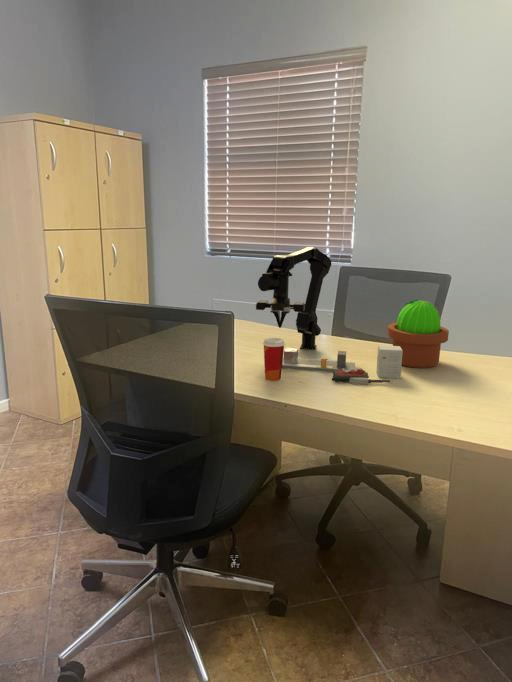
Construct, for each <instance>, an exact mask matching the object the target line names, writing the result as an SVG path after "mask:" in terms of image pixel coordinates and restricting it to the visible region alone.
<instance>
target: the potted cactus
mask: <svg viewBox="0 0 512 682" xmlns="http://www.w3.org/2000/svg"><path fill="white" fill-rule="evenodd" d="M439 313H440V312H439V310H437V307H435V305H434V304H432V303H431V302H429V301H428V300H426V301H425V300H424V299H420V300H419V299H415V300H410V301H409V302H407V303H405V304H404V306H403V307H402V309H401V310H400V312H399V313H398V315H397V320H396V321H395V322H394V323H390V324H388V326H387V336H388V337H389V338H390V339H392V346H400V347H401V349H402V350H403V353H402V365H401V366H404V367H408V368H413V369H414V368H415V369H417V368H418V369H421V368H422V369H423V368H424V369H425V368H432V367H435V366H437V365H439V364H440V363H439V362H440V354H441V346H442V344H444V343H446V342H448V340H449V334H450V333H449V332H450V331H449V329H448V328H446V327H443V326H441V321H442V318H440V317H441V316H440V314H439Z"/></svg>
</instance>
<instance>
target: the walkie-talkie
mask: <svg viewBox="0 0 512 682" xmlns="http://www.w3.org/2000/svg"><path fill="white" fill-rule="evenodd" d="M369 378H370V377H369V373H368V372H367V371H365V370H364V369H363V368H362V367H355V368H349V369H348V370H345V369H342V370H333V372H332V377H331V381H332V382H335V383H341V382H342V383H344V384H346V383H350V384H352V385H361V386H363V385H364V386H368V385H369V384H372V383H373V384H375V383H376V384H379V383H380V384H381V383H391V380H390V379H369Z"/></svg>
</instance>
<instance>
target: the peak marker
mask: <svg viewBox="0 0 512 682" xmlns="http://www.w3.org/2000/svg"><path fill="white" fill-rule="evenodd" d="M320 360H321V367H326V366H327V361H328V357H327V356H326V357H325V356H321V359H320Z"/></svg>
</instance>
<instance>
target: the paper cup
mask: <svg viewBox="0 0 512 682" xmlns="http://www.w3.org/2000/svg"><path fill="white" fill-rule="evenodd" d="M285 345H286V343H285V340H284V339H283V338H277V337H268V338H265V339H264V340H263V342H262V346H263V361H264V364H263V365H264V378H265V380H266V381H269V382H277V381H281V379H282V375H283V374H282V372H283V369H282V363H283V358H284V350H285V348H284V347H285Z"/></svg>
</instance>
